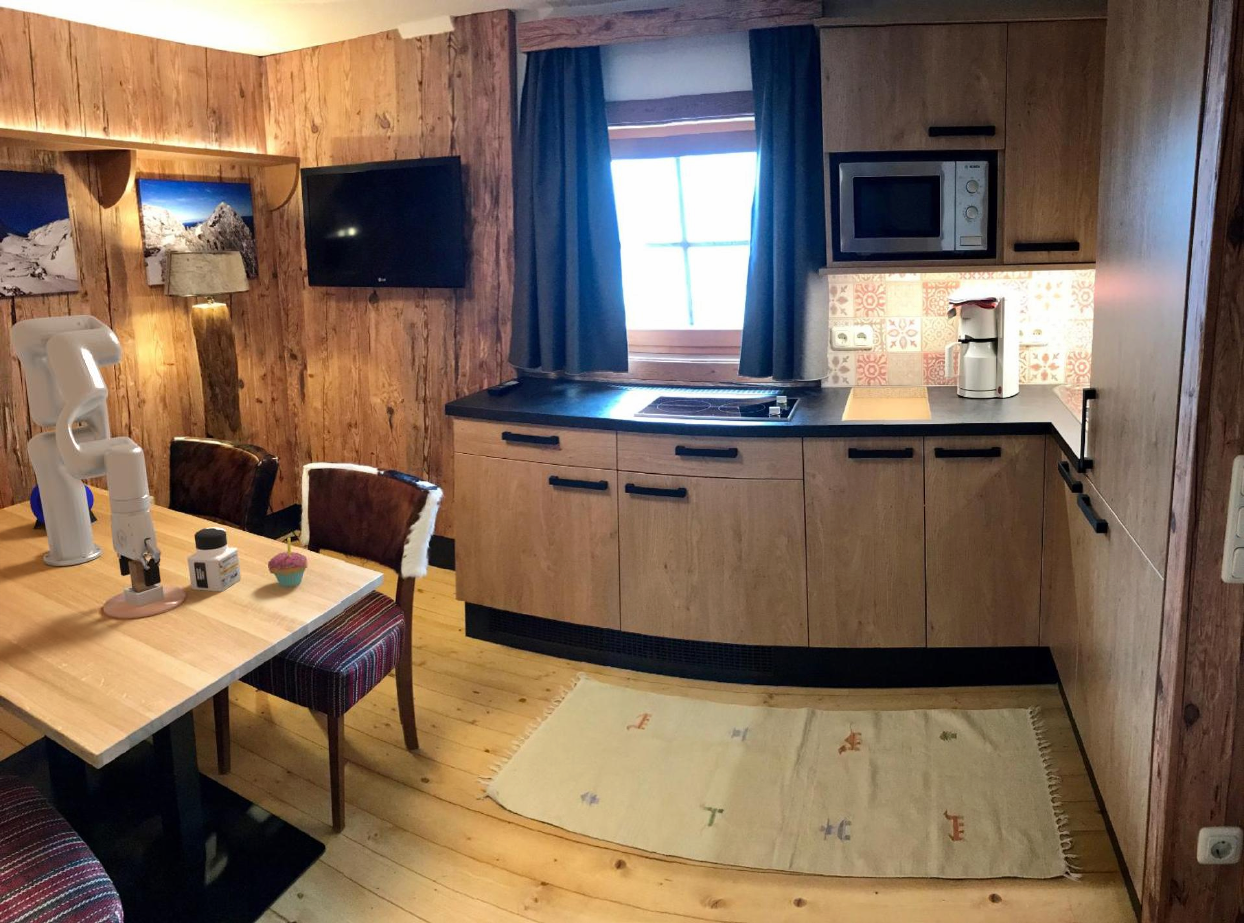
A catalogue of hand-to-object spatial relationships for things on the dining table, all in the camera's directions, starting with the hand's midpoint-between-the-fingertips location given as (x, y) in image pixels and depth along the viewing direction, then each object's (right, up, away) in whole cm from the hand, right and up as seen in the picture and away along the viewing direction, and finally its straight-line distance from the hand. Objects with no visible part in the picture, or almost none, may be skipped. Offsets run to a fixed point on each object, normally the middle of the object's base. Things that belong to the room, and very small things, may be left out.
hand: (140, 579), depth 212 cm
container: (+12, -3, +11) cm, 16 cm away
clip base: (0, -5, +1) cm, 5 cm away
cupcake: (+28, -2, +11) cm, 30 cm away
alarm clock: (-46, +8, +54) cm, 72 cm away
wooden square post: (0, -5, 0) cm, 5 cm away
